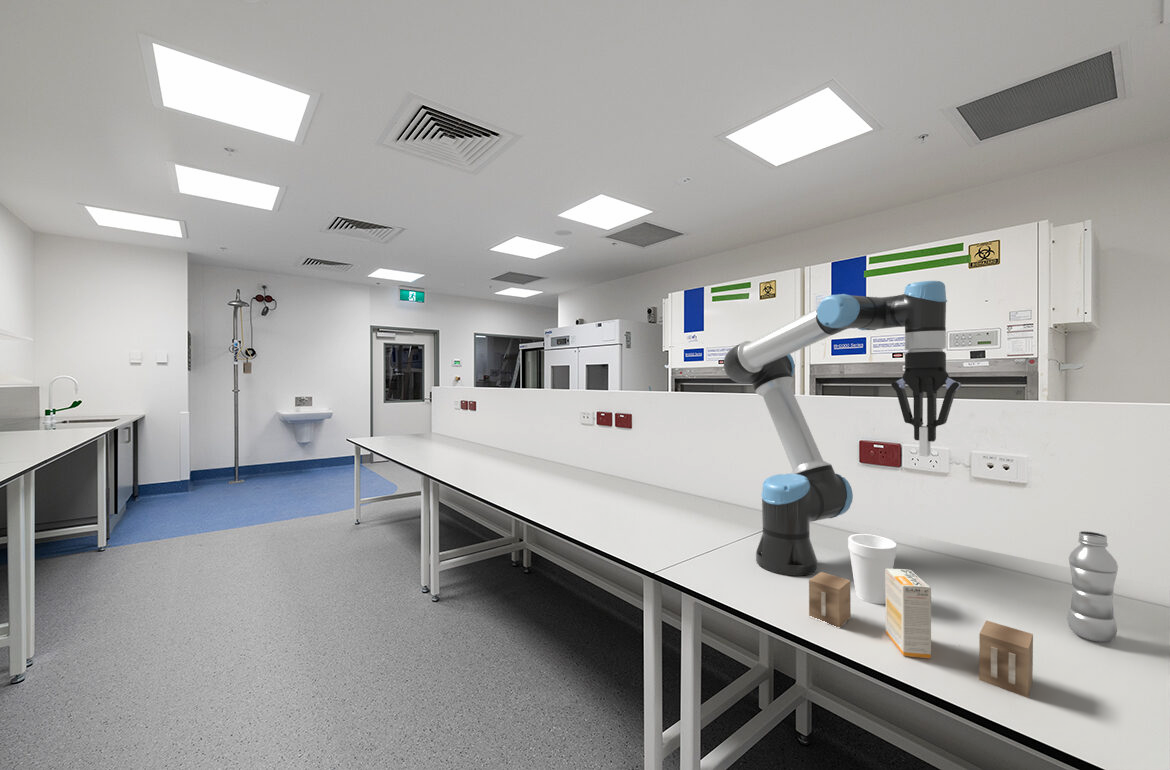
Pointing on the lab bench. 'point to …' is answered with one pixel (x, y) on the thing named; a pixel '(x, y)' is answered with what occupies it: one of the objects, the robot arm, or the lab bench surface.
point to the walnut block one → (830, 599)
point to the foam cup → (871, 565)
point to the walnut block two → (1006, 658)
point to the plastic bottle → (1092, 588)
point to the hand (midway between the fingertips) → (924, 455)
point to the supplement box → (908, 612)
